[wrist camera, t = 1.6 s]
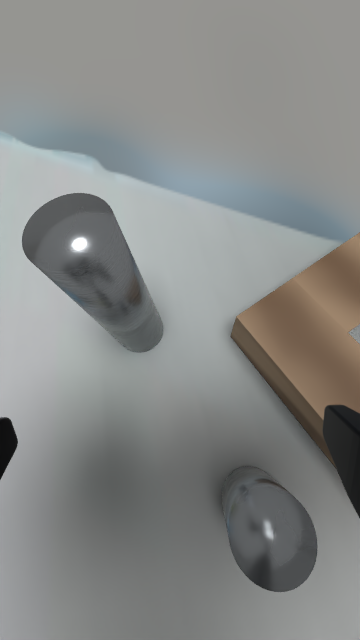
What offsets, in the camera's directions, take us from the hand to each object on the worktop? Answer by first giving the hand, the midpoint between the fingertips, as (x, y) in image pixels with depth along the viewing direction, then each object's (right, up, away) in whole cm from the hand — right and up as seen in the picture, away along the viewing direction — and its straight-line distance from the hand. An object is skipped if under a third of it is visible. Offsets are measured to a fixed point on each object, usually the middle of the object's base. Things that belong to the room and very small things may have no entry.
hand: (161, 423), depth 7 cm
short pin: (+5, -9, +10) cm, 15 cm away
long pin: (-3, +2, +16) cm, 16 cm away
